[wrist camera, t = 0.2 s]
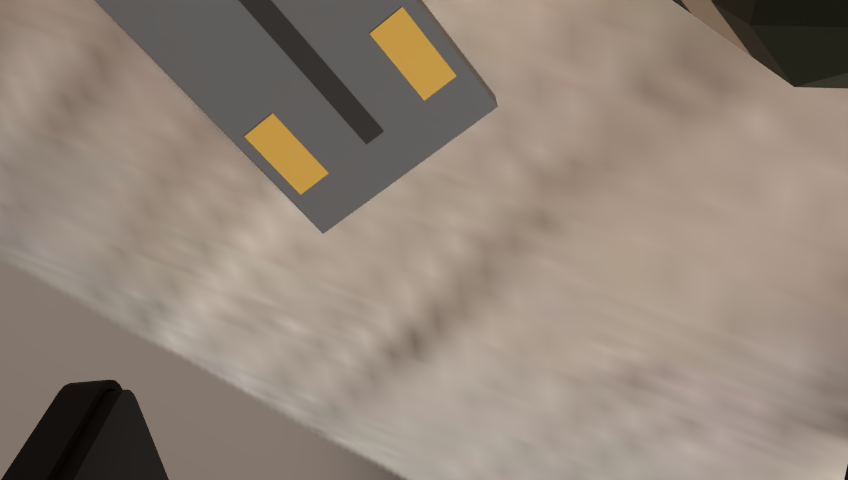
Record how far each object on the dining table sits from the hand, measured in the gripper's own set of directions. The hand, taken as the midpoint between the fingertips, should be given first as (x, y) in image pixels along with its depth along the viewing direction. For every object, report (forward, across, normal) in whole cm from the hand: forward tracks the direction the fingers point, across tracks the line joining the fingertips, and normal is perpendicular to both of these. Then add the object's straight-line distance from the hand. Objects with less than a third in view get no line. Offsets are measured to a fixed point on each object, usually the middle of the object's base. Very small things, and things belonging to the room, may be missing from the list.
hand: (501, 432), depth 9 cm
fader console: (+37, +10, +1) cm, 38 cm away
